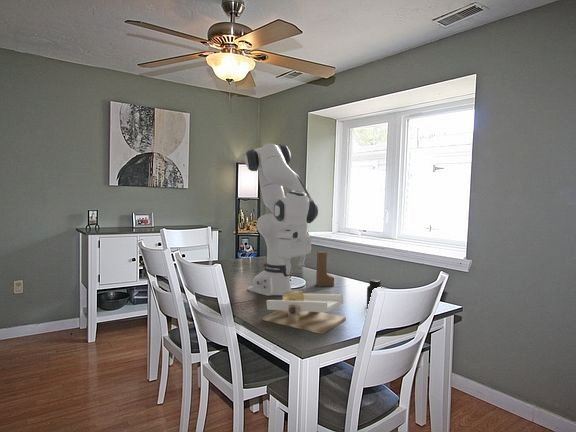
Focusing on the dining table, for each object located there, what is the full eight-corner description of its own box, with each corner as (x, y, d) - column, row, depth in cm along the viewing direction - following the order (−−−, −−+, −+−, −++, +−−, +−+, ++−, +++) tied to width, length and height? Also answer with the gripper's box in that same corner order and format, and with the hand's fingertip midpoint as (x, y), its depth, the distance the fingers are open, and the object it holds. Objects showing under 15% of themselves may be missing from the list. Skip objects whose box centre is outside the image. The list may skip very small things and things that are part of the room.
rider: (283, 303, 157) (282, 293, 157) (291, 300, 162) (290, 290, 162) (296, 304, 154) (295, 293, 154) (304, 300, 159) (303, 290, 159)
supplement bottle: (370, 303, 181) (372, 277, 180) (384, 307, 176) (386, 280, 176) (363, 307, 175) (364, 280, 175) (377, 310, 171) (378, 282, 170)
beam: (267, 309, 156) (266, 300, 156) (286, 301, 168) (286, 293, 168) (326, 312, 142) (325, 302, 142) (343, 303, 154) (342, 294, 154)
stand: (262, 319, 154) (262, 300, 154) (289, 307, 171) (290, 290, 170) (322, 334, 140) (323, 313, 140) (345, 319, 157) (346, 300, 157)
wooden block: (332, 284, 217) (333, 251, 216) (334, 286, 213) (335, 252, 212) (315, 284, 216) (317, 251, 215) (317, 286, 212) (318, 252, 210)
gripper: (302, 230, 167) (301, 262, 167) (274, 233, 149) (274, 270, 150) (315, 231, 163) (314, 264, 164) (289, 234, 146) (288, 272, 147)
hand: (295, 267), depth 157 cm, fingers open, 8 cm apart
